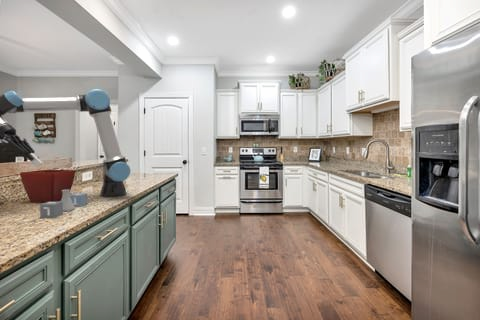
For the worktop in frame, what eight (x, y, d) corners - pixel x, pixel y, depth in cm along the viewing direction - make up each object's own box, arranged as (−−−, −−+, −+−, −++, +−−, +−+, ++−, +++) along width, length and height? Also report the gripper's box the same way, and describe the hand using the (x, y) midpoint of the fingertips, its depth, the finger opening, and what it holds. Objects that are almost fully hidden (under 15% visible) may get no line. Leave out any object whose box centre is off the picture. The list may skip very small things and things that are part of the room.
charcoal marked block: (49, 214, 123) (49, 201, 123) (62, 214, 123) (62, 201, 123) (40, 218, 117) (39, 204, 117) (54, 218, 117) (54, 204, 117)
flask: (78, 208, 135) (77, 189, 134) (68, 212, 127) (68, 191, 127) (64, 208, 135) (63, 188, 135) (53, 211, 128) (53, 191, 127)
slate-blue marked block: (75, 204, 145) (75, 193, 145) (87, 204, 145) (87, 193, 145) (69, 206, 139) (68, 195, 139) (81, 206, 139) (80, 195, 139)
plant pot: (46, 196, 164) (45, 169, 164) (76, 197, 164) (76, 169, 163) (19, 203, 145) (18, 172, 145) (53, 204, 145) (53, 172, 144)
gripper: (7, 135, 134) (42, 169, 136) (-16, 134, 121) (23, 171, 123) (18, 124, 134) (53, 158, 136) (-4, 122, 121) (35, 159, 123)
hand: (39, 164), depth 130 cm, fingers closed
